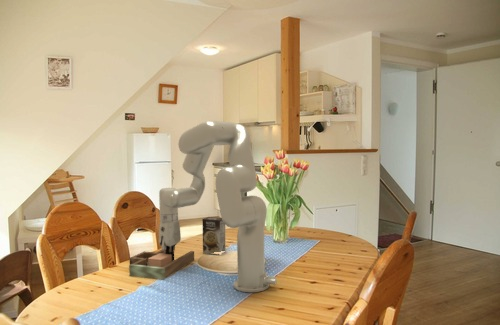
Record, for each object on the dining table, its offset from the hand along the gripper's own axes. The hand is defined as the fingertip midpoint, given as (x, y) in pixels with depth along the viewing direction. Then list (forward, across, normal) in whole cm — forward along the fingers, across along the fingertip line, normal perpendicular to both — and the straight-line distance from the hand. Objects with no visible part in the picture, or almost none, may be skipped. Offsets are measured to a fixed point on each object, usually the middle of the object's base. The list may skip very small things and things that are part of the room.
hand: (170, 260), depth 156 cm
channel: (+1, -5, +3) cm, 6 cm away
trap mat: (+1, -4, +9) cm, 10 cm away
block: (+2, -6, +1) cm, 6 cm away
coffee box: (+2, +20, -11) cm, 23 cm away
